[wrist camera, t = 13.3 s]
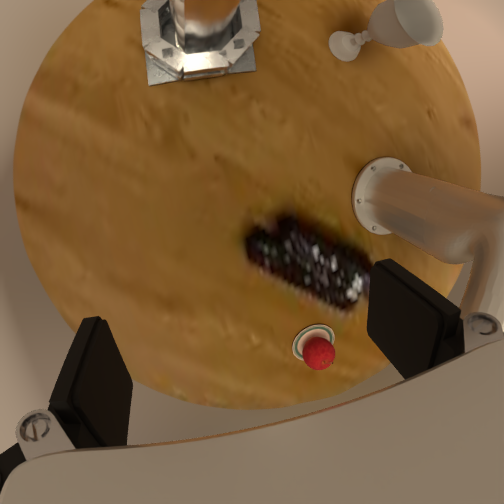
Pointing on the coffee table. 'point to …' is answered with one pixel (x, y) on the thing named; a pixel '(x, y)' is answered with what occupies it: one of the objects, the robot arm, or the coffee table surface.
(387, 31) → the chalice
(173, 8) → the silver metal cylinder
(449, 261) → the robot arm
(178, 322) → the coffee table surface
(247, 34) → the collar stand
